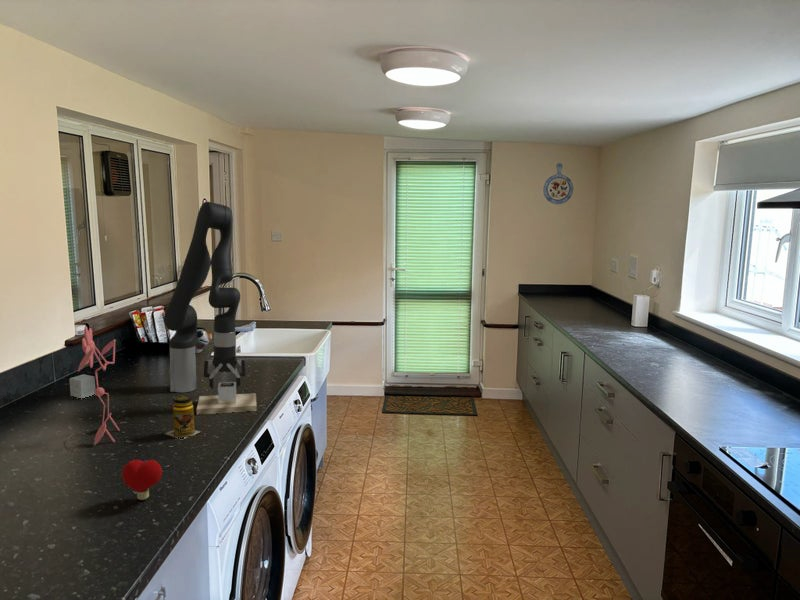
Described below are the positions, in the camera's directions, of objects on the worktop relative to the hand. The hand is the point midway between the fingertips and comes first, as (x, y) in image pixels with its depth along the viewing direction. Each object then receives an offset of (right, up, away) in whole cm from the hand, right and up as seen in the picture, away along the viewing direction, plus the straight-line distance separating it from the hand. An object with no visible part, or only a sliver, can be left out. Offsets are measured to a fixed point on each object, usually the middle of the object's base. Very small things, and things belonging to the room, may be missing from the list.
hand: (225, 387), depth 205 cm
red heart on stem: (0, -18, -65) cm, 67 cm away
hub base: (0, -7, +1) cm, 7 cm away
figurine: (-32, -11, -30) cm, 45 cm away
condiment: (-6, -11, -24) cm, 27 cm away
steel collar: (0, -5, +1) cm, 5 cm away
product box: (-55, -5, +8) cm, 56 cm away
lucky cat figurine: (-38, +6, +77) cm, 86 cm away
